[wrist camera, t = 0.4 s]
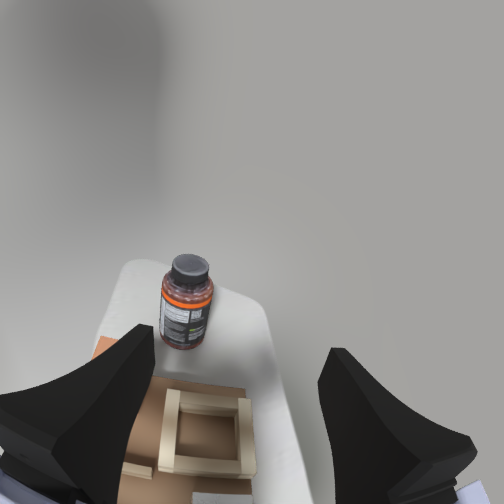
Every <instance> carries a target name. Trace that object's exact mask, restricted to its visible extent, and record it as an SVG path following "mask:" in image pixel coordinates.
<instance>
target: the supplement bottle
mask: <svg viewBox="0 0 504 504" xmlns="http://www.w3.org/2000/svg"><path fill="white" fill-rule="evenodd" d="M208 271H209V265H208V263H207V261H206V260H205V259H203V258H202V257H200V256H197V255H193V254H183V255H179V256H177V257H176V258H175V259H174V260H173V264H172V270H170V271H169V272H168V273H167V274H166V275H165V276H164V278H163V281H162V288H161V290H162V291H161V306H160V319H159V320H160V327H159V328H160V335H161V337H162V339H163V340H164V342H165V343H166V344H168V345H169V346H171V347H173V348H176V349H181V350H187V349H192V348H195V347H196V346H198V345H199V344H200V343H201V342H202V341H203V338H204V335H205V330H206V325H207V320H208V315H209V309H210V304H211V299H212V295H213V282H212V280H211V279H210V277H209V276H208Z"/></svg>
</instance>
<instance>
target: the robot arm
mask: <svg viewBox="0 0 504 504" xmlns="http://www.w3.org/2000/svg"><path fill="white" fill-rule="evenodd" d="M154 366H155V353H154V333H153V326H148V325H143V324H138V325H137V326H135V327H134V328H133V329H132V330H130V331H129V332H128V333H127V334H126V335H124V336H123V337H122V338H121V339H119V340H118V341H117V342H116V343H114V344H113V345H112V346H110V347H109V348H108V349H107V350H105V351H104V352H103V353H101V354H100V355H98V356H97V357H95V358H94V359H92V360H91V361H90V362H88V363H86V364H85V365H84V366H81V367H80V368H78V369H76V370H74V371H72V372H71V373H69V374H67V375H64V376H62V377H60V378H58V379H56V380H53V381H51V382H48V383H45V384H42V385H39V386H36V387H33V388H30V389H27V390H23V391H18V392H12V393H8V394H2V395H0V446H1V447H2V449H3V450H4V453H3V454H2V456H1V455H0V504H117V499H118V491H119V485H120V479H121V473H122V468H123V463H124V458H125V453H126V449H127V445H128V441H129V437H130V433H131V430H132V427H133V424H134V422H135V419H136V417H137V414H138V412H139V409H140V407H141V405H142V402H143V400H144V397H145V395H146V392H147V390H148V387H149V385H150V381H151V378H152V374H153V370H154ZM318 391H319V400H320V405H321V409H322V413H323V417H324V421H325V425H326V429H327V433H328V436H329V441H330V445H331V449H332V456H333V465H334V477H335V496H336V497H335V500H336V504H490V502H489V499H488V497H487V495H486V492H485V490H484V488H483V486H482V484H481V482H480V480H476V481H474V482H472V483H470V484H468V485H466V486H464V487H462V488H460V489H459V490H457V491H455V490H454V487H453V486H455V485H456V484H457V481H456V479H455V477H456V476H457V475H458V474H459V473H460V472H461V471H463V470H464V469H465V468H466V467H467V466H468V465H469V464H470V463H471V462H472V461H473V460H474V458H475V457H476V455H477V449H476V448H475V446H474V444H473V442H472V440H471V438H470V437H469V436H467V435H464V434H461V433H458V432H455V431H452V430H450V429H447V428H445V427H443V426H441V425H438V424H436V423H434V422H432V421H430V420H429V419H427V418H425V417H423V416H422V415H420V414H418V413H417V412H415V411H413V410H412V409H410V408H409V407H408V406H406V405H405V404H404V403H402V402H401V401H400V400H398V399H397V398H396V397H395V396H393V395H392V394H391V393H390V392H389V391H387V390H386V389H385V388H384V387H383V386H382V385H381V384H380V383H379V382H378V381H377V380H376V379H374V378H373V376H372V375H370V373H369V372H368V371H367V370H366V369H365V368H363V366H362V365H361V364H360V363H359V362H358V361H357V360H356V359H355V358H354V357H353V356H352V355H351V354H350V353H349V352H348V351H347V350H346V349H345V348H331V350H330V352H329V355H328V357H327V360H326V362H325V365H324V367H323V370H322V372H321V375H320V377H319V380H318Z"/></svg>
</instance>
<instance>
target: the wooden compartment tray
mask: <svg viewBox="0 0 504 504" xmlns="http://www.w3.org/2000/svg"><path fill="white" fill-rule="evenodd" d="M167 388H168V389H173V390H179V391H186V392H192V393H200V394H207V395H215V396H224V397H234V398H246V395H245V389H242V388H232V387H223V386H214V385H206V384H199V383H192V382H186V381H179V380H174V379H168V378H162V377H157V376H152V378H151V381H150V385H149V387H148V390H147V392H146V395H145V397H144V400H143V402H142V405H141V407H140V409H139V413H138V415H137V417H136V419H135V422H134V424H133V427H132V430H131V433H130V437H129V441H128V445H127V449H126V453H125V458H124V463H123V468H122V473H121V479H120V485H119V491H118V499H117V504H190V497H191V495H192V492H199V493H211V494H233V495H252V488H251V479H230V478H213V477H201V476H191V475H183V474H175V473H168V472H162V471H158V460H159V450H160V441H161V432H162V424H163V416H164V409H165V401H166V394H167ZM175 455H180V456H188V457H196V458H206V459H218V460H235V461H236V448H235V420H234V418H233V417H221V416H212V415H203V414H195V413H188V412H181V411H178V420H177V430H176V442H175Z"/></svg>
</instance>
